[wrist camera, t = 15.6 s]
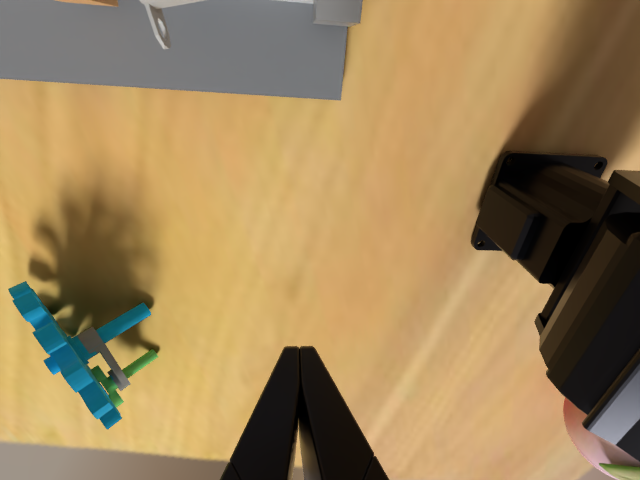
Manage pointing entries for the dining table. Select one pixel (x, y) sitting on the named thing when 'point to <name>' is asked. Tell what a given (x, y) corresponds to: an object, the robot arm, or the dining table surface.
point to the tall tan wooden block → (94, 2)
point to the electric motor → (162, 17)
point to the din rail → (182, 45)
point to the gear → (84, 353)
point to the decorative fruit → (599, 447)
